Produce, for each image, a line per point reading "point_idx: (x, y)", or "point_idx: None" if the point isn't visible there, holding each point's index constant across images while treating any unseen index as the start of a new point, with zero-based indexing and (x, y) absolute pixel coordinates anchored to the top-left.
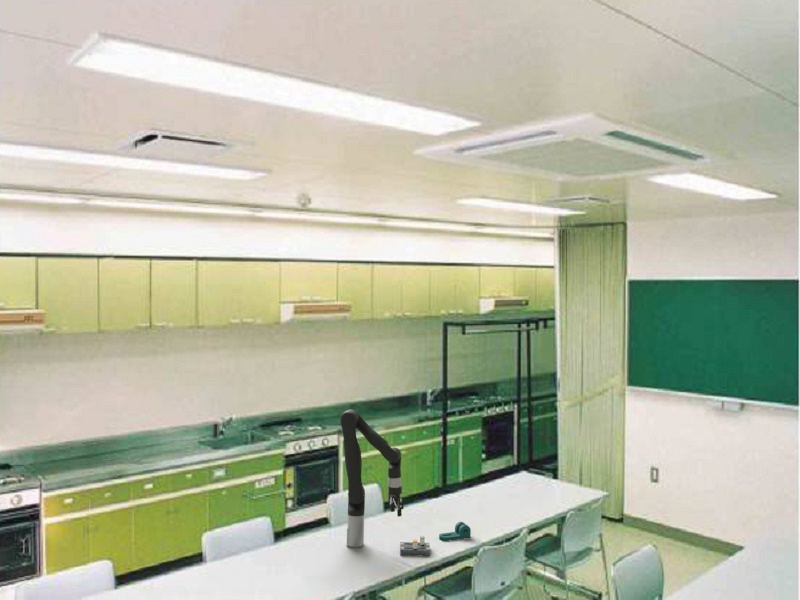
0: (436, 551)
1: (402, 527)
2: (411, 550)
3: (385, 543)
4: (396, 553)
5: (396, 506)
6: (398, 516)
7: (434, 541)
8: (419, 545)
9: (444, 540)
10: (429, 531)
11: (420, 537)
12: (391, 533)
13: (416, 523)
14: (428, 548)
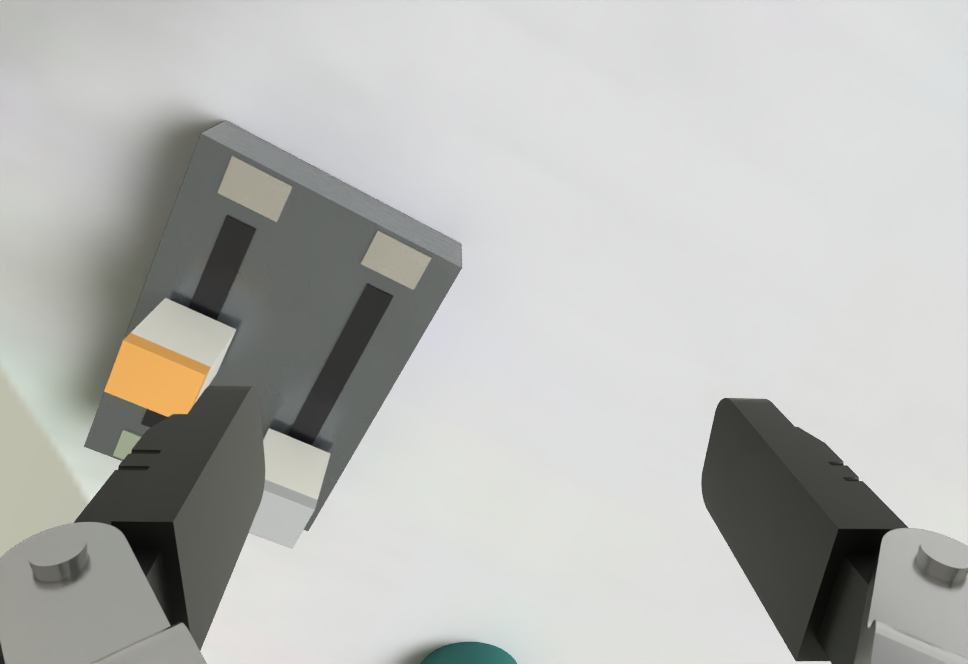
0: None
1: (926, 513)
2: (154, 265)
3: (665, 139)
4: (302, 106)
5: (155, 636)
6: (211, 394)
7: (454, 594)
8: (268, 415)
9: (426, 661)
10: (683, 651)
11: None
12: (877, 351)
13: None
14: None
